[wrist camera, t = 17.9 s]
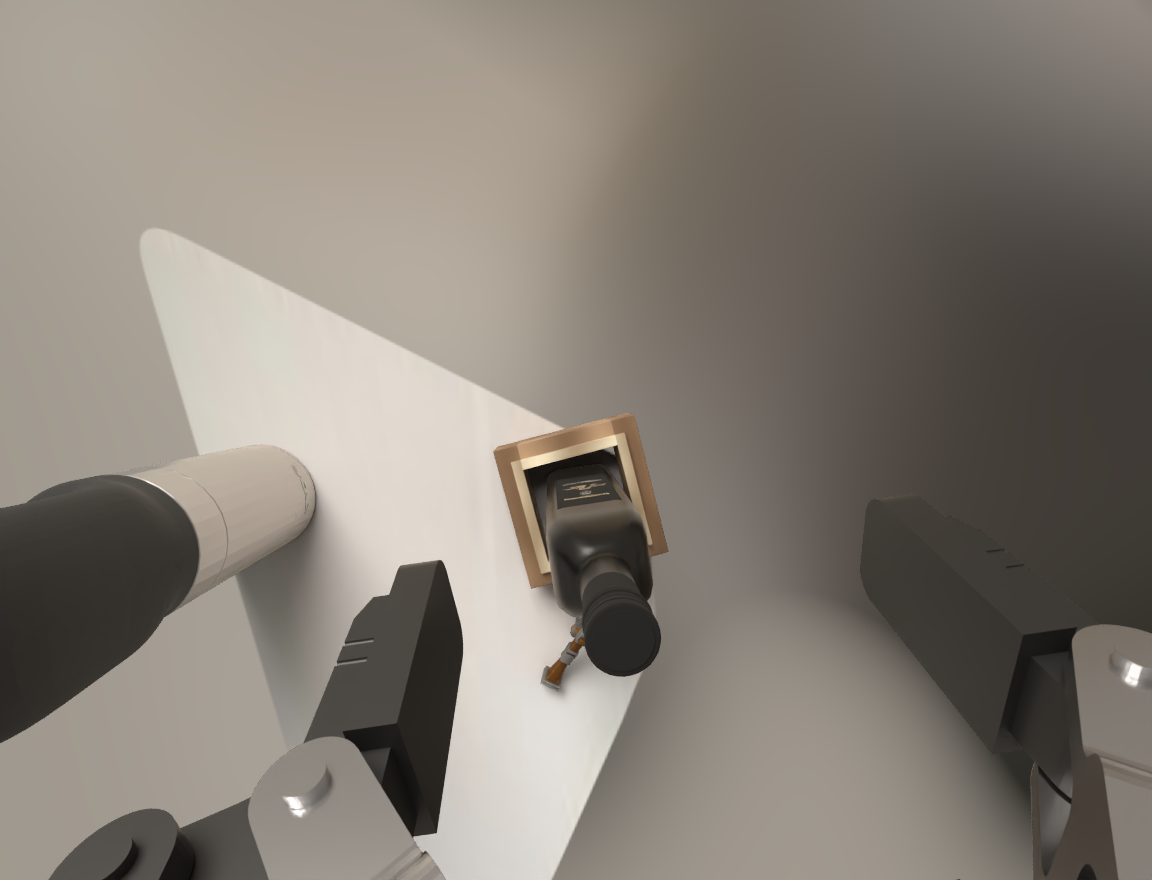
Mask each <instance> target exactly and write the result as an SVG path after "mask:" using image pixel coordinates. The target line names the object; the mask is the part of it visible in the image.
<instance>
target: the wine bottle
mask: <svg viewBox="0 0 1152 880" xmlns="http://www.w3.org/2000/svg"><path fill="white" fill-rule="evenodd" d="M546 542H547V549H548V556H549V562H550V569H551V576H552V583H553V589H554V596H555V599H556V601H557V603H558V606H559V607H560V608H561V609H562V610H564V611H565V612H566V613H568V614H569V615H570V616H573V617H578V618H582V628H583V633H584V642H585V649H586V652H587V655H588V657H589V658H590V660H591V661H592V662H593V664H594V665H595V666H596V667H597V668H599V669H600V670H601V671H603V672H605V673H607V674H609V675H613V676H622V677H625V676H631V675H634V674H637V673H639V672H641V671H643V670H644V669H646V668H647V667H648V666H649V665H651V663H652V662H653V661H654V659H655V657H656V656H657V654H658V651H659V648H660V643H661V634H660V628H659V625H658V622H657V620H656V618H655V617H654V615H653V613H652V610H651V607H650V605H649V604H648V602H647V600H648V599H649V598H650V596H651V591H652V587H653V579H652V572H651V564H650V556H649V548H648V541H647V533H646V528H645V525H644V522H643V520H642V517H641V515H640V513H639V512H638V510H637V509H636V508H635V506H634V505H633V504H632V502H631V501H630V499H629V498H628V497H627V495H626V494H625V492H624V491H623V490H622V488H621V487H620V486H619V484H618V483H617V481H616V480H615V479H614V477H613V476H612V475H611V473H610V472H609V470H608V469H607V468H606V467H604V466H603V465H600V464H592V465H585V466H578V467H572V468H565V469H558V470H555V471H553V472H551V473H550V475H549V476H548V477H547V498H546Z"/></svg>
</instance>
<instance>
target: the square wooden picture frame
mask: <svg viewBox="0 0 1152 880" xmlns="http://www.w3.org/2000/svg"><path fill="white" fill-rule="evenodd" d="M612 446H613V447H614V451H615V455H616V459H617V463H618V467H619V471H620V475H621V479H622V483H623V487H624V491H625V494H626V495H627V497H628V498H629V499H630V501H631V502H632V504H633V505H634V506H635V508H636V509H637V510H638V512H639V513H640V515H641V517H642V520H643V522H644V525H645V528H646V533H647V541H648V548H649V556H650V557H651V556H655V555H659V554H662V553H666V552H668V548H667V544H666V540H665V536H664V532H663V528H662V524H661V520H660V516H659V512H658V508H657V504H656V500H655V496H654V492H653V488H652V484H651V480H650V476H649V472H648V468H647V464H646V460H645V456H644V452H643V448H642V444H641V440H640V436H639V432H638V428H637V424H636V420H635V416H634V415H633V414H630V413H625V414H621V415H617V416H613V417H610V418H606V419H602V420H598V421H594V422H590V423H587V424H583V425H579V426H575V427H571V428H568V429H564V430H560V431H556V432H552V433H549V434H545V435H541V436H537V437H533V438H529V439H526V440H522V441H518V442H514V443H510V444H507V445H503V446H499V447H497V448H496V449H495V451H494V456H495V460H496V463H497V467H498V470H499V474H500V478H501V481H502V485H503V488H504V492H505V496H506V499H507V503H508V507H509V510H510V514H511V517H512V521H513V525H514V528H515V532H516V536H517V539H518V543H519V546H520V550H521V554H522V557H523V561H524V565H525V568H526V572H527V575H528V579H529V583H530V586H531V589H532V588H536V587H540V586H543V585H547V584H551V583H552V576H551V569H550V562H549V556H548V549H547V542H546V538H545V534H544V530H543V526H542V523H541V519H540V515H539V512H538V508H537V504H536V501H535V497H534V493H533V490H532V486H531V482H530V479H529V475H528V471H527V469H529V468H532V467H536V466H540V465H544V464H548V463H551V462H555V461H559V460H563V459H566V458H570V457H574V456H578V455H582V454H585V453H589V452H593V451H597V450H601V449H604V448H608V447H612Z"/></svg>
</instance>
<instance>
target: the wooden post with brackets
mask: <svg viewBox="0 0 1152 880" xmlns="http://www.w3.org/2000/svg"><path fill="white" fill-rule="evenodd" d="M570 633H571V636H572V637H576V638H575V639H574V640H573V642H570V643H568V645H567V647H566V648H565V650H564V651H563V652H562V653H561V657H560V659H559V660H558V661H557V662H556V663H555V664H554V665H553V666H552V667H551V668H550V667H548V666H546V667H545V668H544V671H543V675H542V679H541V684H543V685H546V686H548V687H550V688H552V689H554V690H556V691H558V690H559V689H560V684H561V680H562V675H563V672H564V670H565V668H566V667H567V665H570V663H571V662H572V661H573V659H575V657H577V655H578V652H579V650H580V648H581V647H582V646H585V642H584V633H583V628H582V618H581V619H578V618H576V622H575V624H574V625H573V626H572V627H571V632H570Z"/></svg>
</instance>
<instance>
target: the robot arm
mask: <svg viewBox="0 0 1152 880" xmlns="http://www.w3.org/2000/svg"><path fill="white" fill-rule="evenodd" d="M314 508H315V490H314V485H313V482H312V480H311V477H310V475H309V473H308V472H307V470H306V469H305V467H304V466H303V464H301V463H300V462H299V461H298V460H297V459H296V458H295V457H294V456H292V455H291V454H289V453H287V452H286V451H284V450H281V449H278V448H276V447H272V446H265V445H254V446H247V447H242V448H237V449H232V450H226V451H221V452H215V453H210V454H205V455H200V456H195V457H191V458H185V459H180V460H176V461H170V462H165V463H160V464H155V465H150V466H145V467H139V468H135V469H130V470H126V471H121V472H116V473H110V474H106V475H100V476H95V477H90V478H85V479H80V480H75V481H69V482H66V483H62V484H59V485H56V486H54V487H51V488H49V489H47V490H45V491H43V492H41V493H39V494H38V495H36V496H35V497H33V498H32V499H31V500H29V501H28V502H27V503H25V504H20V505H15V506H10V507H5V508H0V743H2V742H3V741H6V740H8V739H9V738H11V737H13V736H15V735H17V734H18V733H20V732H22V731H24V730H26V729H27V728H29V727H30V726H32V725H34V724H35V723H37V722H38V721H40V720H41V719H43V718H45V717H46V716H47V715H49V714H50V713H52V712H53V711H54V710H56V709H58V708H59V707H60V706H62V705H63V704H65V703H66V702H68V701H69V700H70V699H72V698H73V697H74V696H76V695H77V694H79V693H80V692H81V691H83V690H84V689H85V688H87V687H88V686H90V685H91V684H92V683H94V682H95V681H96V680H98V679H99V678H100V677H102V676H103V675H105V674H106V673H107V672H109V671H110V670H111V669H113V668H114V667H115V666H117V665H118V664H120V663H121V662H123V661H124V660H125V659H127V658H128V657H129V656H131V655H132V654H133V653H134V652H136V651H137V650H138V649H139V648H140V647H141V646H142V645H143V644H144V643H145V642H146V641H147V640H148V639H149V637H150V636H151V635H152V634H153V633H154V631H155V630H156V629H157V627H158V626H159V624H160V623H161V621H162V620H163V618H164V617H166V616H167V615H169V614H170V613H172V612H174V611H175V610H177V609H179V608H180V607H182V606H184V605H185V604H187V603H189V602H190V601H192V600H193V599H195V598H197V597H198V596H200V595H201V594H203V593H205V592H207V591H208V590H210V589H212V588H213V587H215V586H217V585H218V584H220V583H222V582H223V581H225V580H227V579H228V578H230V577H232V576H234V575H235V574H237V573H239V572H240V571H242V570H244V569H245V568H247V567H249V566H250V565H252V564H254V563H255V562H257V561H259V560H260V559H262V558H264V557H265V556H267V555H269V554H271V553H272V552H274V551H276V550H277V549H279V548H281V547H282V546H284V545H286V544H287V543H289V542H291V541H292V540H294V539H295V538H296V537H297V536H299V535H300V534H301V533H302V532H303V531H304V529H305V528H306V527H307V526H308V524H309V522H310V520H311V518H312V516H313V512H314ZM860 572H861V579H862V583H863V586H864V589H865V591H866V593H867V595H868V597H869V599H870V600H871V602H872V603H873V604H874V605H875V607H876V608H877V609H878V610H879V612H880V613H881V614H882V616H883V617H884V618H885V619H886V621H887V622H888V623H889V624H890V625H891V627H892V628H893V629H894V631H895V632H896V633H897V634H898V636H899V637H900V638H901V640H902V641H903V642H904V643H905V645H906V646H907V647H908V648H909V649H910V651H911V652H912V653H913V655H914V656H915V657H916V658H917V660H918V661H919V662H920V663H921V665H922V666H923V667H924V669H925V670H926V671H927V672H928V674H929V675H930V676H931V677H932V678H933V680H934V681H935V682H936V684H937V685H938V686H939V688H940V689H941V690H942V691H943V692H944V694H945V695H946V696H947V698H948V699H949V700H950V701H951V703H952V704H953V705H954V706H955V708H956V709H957V710H958V712H959V713H960V714H961V715H962V717H963V718H964V719H965V720H966V722H967V723H968V724H969V725H970V727H971V728H972V729H973V730H974V732H975V733H976V734H977V736H978V737H979V738H980V739H981V740H982V742H983V743H984V744H985V745H986V747H987V748H988V749H989V751H990V752H991V753H992V754H997V753H1003V752H1011V751H1018V750H1024V749H1025V750H1026V752H1027V753H1028V754H1029V755H1030V756H1031V757H1032V759H1033V760H1034V761H1035V762H1034V766H1033V769H1032V772H1031V806H1032V845H1033V880H1152V634H1150V633H1148V632H1145V631H1141V630H1137V629H1134V628H1129V627H1123V626H1115V625H1100V624H1099V623H1097V622H1096V621H1095V620H1094V619H1093V618H1091V617H1090V616H1089V615H1088V614H1086V613H1085V612H1084V611H1083V610H1081V609H1080V608H1079V607H1077V606H1076V605H1075V604H1074V603H1072V602H1071V601H1070V600H1069V599H1067V598H1066V597H1065V596H1064V595H1062V594H1061V593H1060V592H1059V591H1057V590H1056V589H1055V588H1054V587H1052V586H1051V585H1050V584H1048V583H1047V582H1046V581H1044V580H1043V579H1042V578H1041V577H1040V576H1038V575H1037V574H1036V573H1035V572H1033V571H1032V570H1031V569H1030V568H1025V567H1024V564H1023V563H1022V562H1021V561H1020V560H1018V559H1017V558H1016V557H1014V556H1013V555H1012V554H1011V553H1009V552H1008V553H1006V552H1005V550H1004V548H1003V547H1002V546H1001V545H999V544H998V543H997V542H996V541H994V540H993V539H992V538H991V537H989V536H988V535H987V534H985V533H984V532H983V531H982V530H980V529H977V528H975V527H973V526H971V525H969V524H967V523H964V522H962V521H960V520H958V519H956V518H953V517H951V516H946V517H944V516H943V515H942V514H941V513H939V512H938V511H937V510H936V509H934V508H933V507H932V506H931V505H930V504H929V503H927V502H926V501H925V500H924V499H922V498H921V497H920V496H918V495H916V494H907V495H900V496H893V497H886V498H880V499H873V500H871V501H870V502H869V503H868V505H867V508H866V514H865V524H864V534H863V545H862V555H861V564H860ZM462 658H463V637H462V629H461V624H460V620H459V616H458V612H457V608H456V605H455V601H454V597H453V594H452V590H451V586H450V582H449V579H448V575H447V571H446V568H445V565H444V563H443V562H442V561H441V560H437V561H430V562H423V563H416V564H409V565H402V566H400V567H399V569H398V571H397V574H396V577H395V580H394V583H393V585H392V588H391V591H390V594H389V595H386V596H379V597H373V598H372V600H371V601H370V602H369V603H368V604H367V605H366V606H365V607H364V608H363V609H362V611H361V612H360V613H359V614H358V615H357V616H356V617H355V618H354V620H353V623H352V625H351V628H350V630H349V633H348V635H347V638H346V640H345V646H343V647H342V650H341V652H340V655H339V657H338V660H337V666H335V667H334V670H333V672H332V675H331V677H330V680H329V682H328V684H327V687H326V689H325V692H324V694H323V697H322V699H321V702H320V704H319V707H318V709H317V712H316V714H315V717H314V719H313V721H312V724H311V726H310V729H309V731H308V734H307V736H306V739H305V741H304V743H303V744H301V745H299V746H297V747H296V748H294V749H292V750H290V751H289V752H288V753H286V754H285V755H283V756H282V757H281V758H280V759H279V760H278V761H276V762H275V763H274V764H273V765H272V766H271V767H270V768H269V769H268V770H267V771H266V773H265V774H264V775H263V777H262V778H261V779H260V781H259V782H258V784H257V786H256V788H255V789H254V792H253V794H252V796H251V797H250V798H249V799H246V800H244V801H242V802H240V803H238V804H236V805H233V806H231V807H229V808H227V809H224V810H222V811H220V812H217V813H215V814H213V815H210V816H208V817H206V818H204V819H201V820H199V821H196V822H194V823H192V824H189V825H187V826H185V827H183V828H179V826H178V824H177V823H176V821H175V820H174V818H173V817H172V815H170V814H169V813H168V812H166V811H164V810H160V809H144V810H139V811H136V812H132V813H129V814H127V815H124V816H122V817H120V818H118V819H116V820H114V821H112V822H110V823H108V824H107V825H105V826H104V827H102V828H100V829H99V830H97V831H96V832H95V833H93V834H92V835H90V836H89V837H88V838H87V839H85V840H84V841H83V842H82V843H81V844H79V845H78V846H77V847H76V848H75V849H74V850H73V851H72V852H71V853H70V854H69V855H68V856H67V857H66V858H65V859H64V860H63V861H62V863H61V864H60V865H59V866H58V867H57V869H56V870H55V871H54V873H53V874H52V875H51V877H50V878H49V880H446V879H445V877H444V876H443V874H442V872H441V871H440V869H439V868H438V866H437V865H436V863H435V862H434V860H433V859H432V858H431V856H430V855H429V854H428V853H427V852H426V851H425V852H423V853H422V852H421V850H420V849H419V847H418V846H417V844H416V843H415V841H414V839H413V836H420V835H427V834H434V833H437V827H438V821H439V814H440V807H441V800H442V794H443V787H444V780H445V773H446V767H447V760H448V753H449V746H450V740H451V733H452V726H453V719H454V712H455V706H456V699H457V692H458V685H459V679H460V672H461V665H462ZM959 880H960V879H959Z"/></svg>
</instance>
